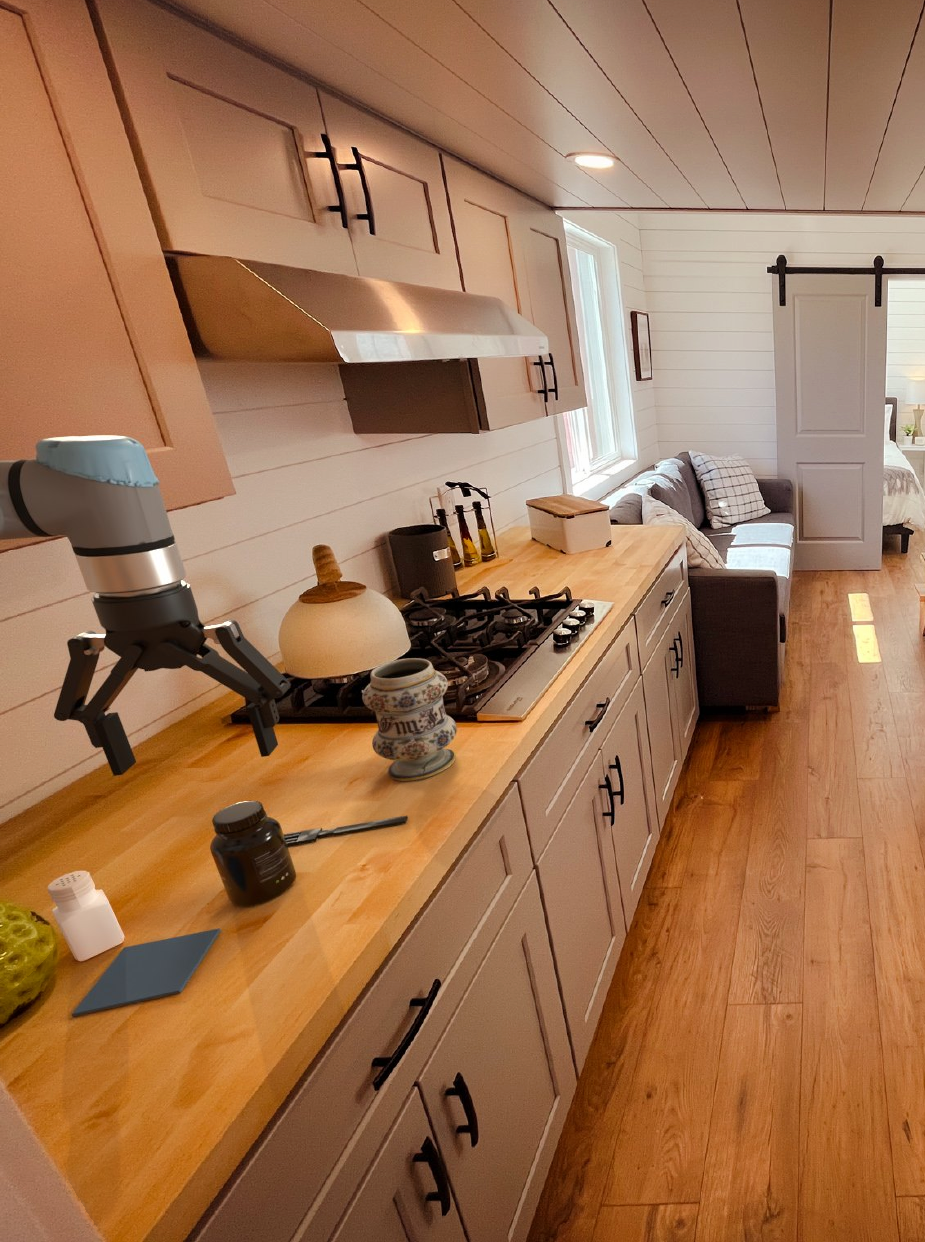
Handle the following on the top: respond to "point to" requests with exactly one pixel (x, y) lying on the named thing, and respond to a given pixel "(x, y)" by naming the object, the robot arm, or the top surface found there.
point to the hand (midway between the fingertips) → (199, 759)
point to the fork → (339, 830)
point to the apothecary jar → (411, 718)
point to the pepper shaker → (84, 915)
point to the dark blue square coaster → (148, 972)
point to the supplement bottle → (251, 854)
